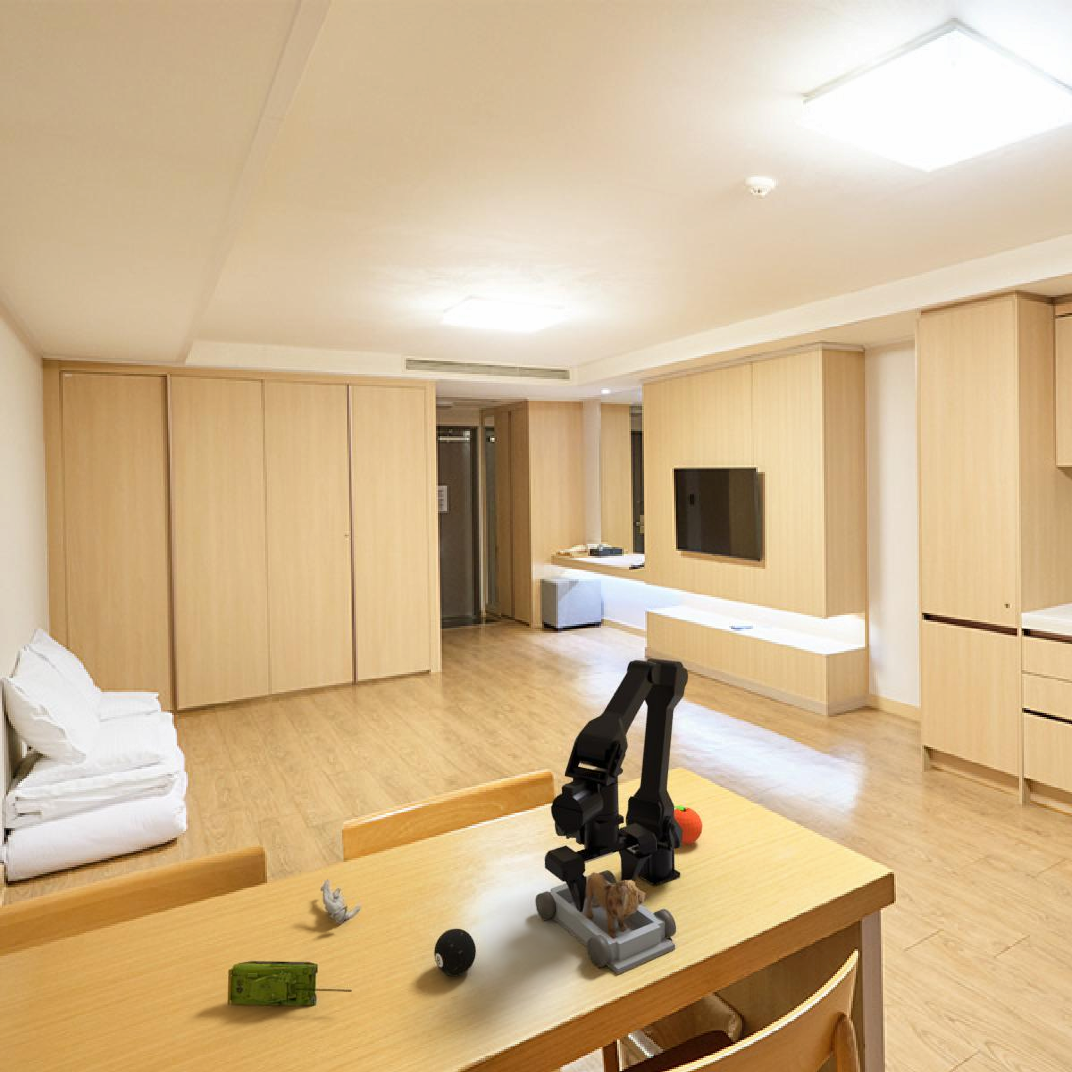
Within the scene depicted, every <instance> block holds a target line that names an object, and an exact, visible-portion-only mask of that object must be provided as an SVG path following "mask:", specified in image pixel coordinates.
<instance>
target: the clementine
mask: <svg viewBox="0 0 1072 1072" xmlns="http://www.w3.org/2000/svg"><path fill="white" fill-rule="evenodd" d="M674 818H675V820H676V821H677V823H678V824H679V825H680V827H681V828H682V829H683V835H682V836H683V838H682V842H681V845H691V844H693V843H695V842H696V841H697V840H698V839H699V838H700V837H701V835H702V832H703V822H702V819H701V817H700V815H699V814H698V813H697V812H696V810H694V809H692V808H690V807H688V806H683V805H674Z"/></svg>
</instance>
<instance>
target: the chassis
mask: <svg viewBox="0 0 1072 1072" xmlns="http://www.w3.org/2000/svg"><path fill="white" fill-rule="evenodd" d="M598 873H599V874H602V875H603V876H604V879H605V881H606V883H607V884H615V883H618V882H617V879H616V877H615V875H614V873H613V872H612V871H611V870H608V869H606V870H603V871H601V872H598ZM590 875H591V874H588V875H586V877H587V880H588V877H589V876H590ZM586 886H587V881H586ZM586 892H587V888H586V891H585V894H586ZM587 902H588V899H587V898H586V899H585V901H584V908H583V912H579V911H578V910H577V908H576V906H575V903H574V901H573V898H572V895H571V893H570V890H569V888H568V886H567V884H566V882H564V884H560V885H557V886H554V887H552V888H550V891H543V892H541V893H538V894H537V895H536V896H535V903H534V904H535V908H536V911H537V913H538V915H539V917H540V919H541V920H544V921H546V920H549V919H553V920H555V922H557V923H558V924H559V925H560V926H561V927H562V928H564V929H565V930H566V931H567V932H569V934H571V935H572V936H573V937H574V938H575V939H577V940H578V941H579V942H580V943H581V944H582V945H583V946H584V947H586V949H587V954H588V956H589V959H590V960H591V963H592V964H593V965H594V966H595V967H596V968H602V967H604V966H606V965H607V966H608V967H609V968H610V969H612V971H613V972H615V973H616V974H617V975H621V974H622V973H625V972H627V971H630V970H631V969H634V968H636V967H639V966H640V965H643V964H645V963H647V962H649V961H651V960H654V959H655V958H658V957H661V956H663V955H664V954H667V953H669V952H672V951H674V950H675V949H676V943H674V942H673V941H671V940H670V939H669V938H671V937H673V936H675V934H676V933H677V925H676V921H675V919H674V917H673V915H672V913H671V912H670V911H669V910H668V909H666V908H662V909H660V910H657V911H654V912H653V911H651V910H650V909H648V908H647V907H645V906H644V905H639V904H638V905H639V906H638V909H637V911H636V912H635V913H634V914H631V915H629V917H628V918H626V919H624V920H623V924H624V925H626V926H627V929H626V931H622V930H620V929H619V928H618V918H615V917H614V929H615V933H616V937H614V938H611V937H610V936H609V935H608V922H607V915H606V910H605V909H603V908H602V907H601V906H600V905H599V906H594V905H593V903H592V906H591V910H592V913H593V916H594V917H593V918H591V919H588V918H587Z"/></svg>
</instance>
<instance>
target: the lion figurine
mask: <svg viewBox="0 0 1072 1072" xmlns="http://www.w3.org/2000/svg"><path fill="white" fill-rule="evenodd" d="M599 873H600V872H594V871H593V872H592V873H590V874H589V875H590V876H589V877H588V880H587V886H586V888H587V892H586V894H585V899H586V898H587V899H588V902H587V918H588V919H591V918H593V917H594V916H593V913H592V910H591V906H592V903H593V905H594V906H599V905H600V906H601V907H602V908H603V909H605V910H606V915H607V922H608V935H609V936H610V937H611V938H614V937H616V933H615V929H614V917H615V918H618V928H619V929H620V930H622V931H626V929H627V926H626V925H624V924H623V920H624V919H626V918H628V917H629V915H631V914H634V913H635V912H636V911H637V909H638V906H639V905H642V904H643V902H644V900H645V897H646V893H645V892H644V891H642V890H640V889H639V888H638V887H637V886H636V881H635V882H634V881H632V880H628V881H627V880H624V881H622V882H621V881H619V882H617V883H615V884H607V883H606V881H605V879H604V876H603V875H602V874H599ZM638 904H639V905H638ZM642 906H643V905H642Z"/></svg>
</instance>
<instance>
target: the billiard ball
mask: <svg viewBox="0 0 1072 1072" xmlns="http://www.w3.org/2000/svg"><path fill="white" fill-rule="evenodd" d="M476 947H477V946H476V944H475V941H474V938H473V936H471V934H470V933H469V932H467V931H466V930H465V929H461V928H450V929H448V930H446V931H445V932H443V933H442V934H441V935H440V936H439V938H438V939H437V941H436V943H435V945H434V950H433V951H434V952H433V954H434V955H433V956H434V961H435V963H436V965H437V967H438V969H439V970H440V971H441V973H443V974H445V975H446V976H447V975H448V976H451V977H452V976H454V977H456V976H461V975H464V973H467V971H468V970H470V968H471V967H472V966H473V964H474V961H475V959H476V955H477V948H476Z"/></svg>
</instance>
